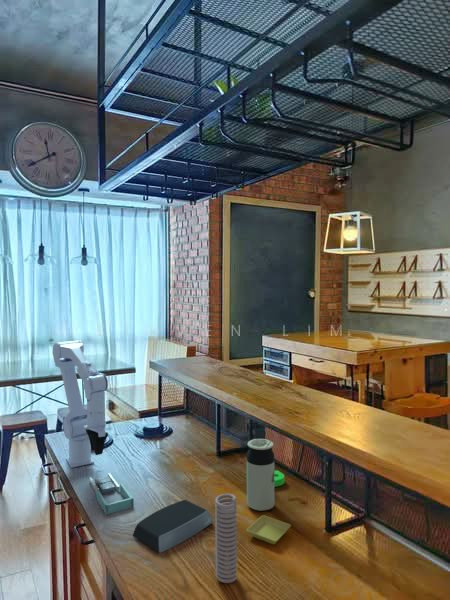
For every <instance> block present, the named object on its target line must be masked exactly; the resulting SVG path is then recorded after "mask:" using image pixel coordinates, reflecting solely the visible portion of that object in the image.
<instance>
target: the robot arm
mask: <svg viewBox="0 0 450 600" xmlns="http://www.w3.org/2000/svg"><path fill="white" fill-rule="evenodd" d="M84 351H85V347H84V342H82V340H81V339H77V340H70V341H69V340H68V341H55V342H54V344H53V345H52V356H53V362H54V365H55V367H57V368H58V369H60V373H61V379H62V382H63V387H64V392H65V396H66V402H67V405H68V410H69V412H68V413H67V414H66V415H65V417H63V421H62V424H63V434H64V436H65V438H66V439H67V440H68V456H66V458H65V459H66V461H67V463H68V464H69V465H68V466H69V467H70V468H76V467H81V466H86V465H90V464H94V463H95V460H94V459H93V457H92V451H94V454H95V455H96V456H98V455H99V456H100V455H102V454H103V451H104V446H105V443H106V440H107V439H108V437H109V432H108V431H106V427H107V422H106V391H108V388H109V380H108V378H107V375H106V374H105V373H102V372H99V371H98V369H97V368H96V367H95V365H94V364H93V362H91V361H89V360H88V359H87V358H86V357H85V354H84ZM76 367H77V368H76ZM76 372H77V374H78V376H79V378H80V379H81V381H82V382H83V386H82V387H83V390H84V396H85V397H84V398H85V399H86V408H84V405H83V399H82V395H81V391H80V387H79V382H78V378H77V374H76Z"/></svg>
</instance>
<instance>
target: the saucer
mask: <svg viewBox="0 0 450 600" xmlns="http://www.w3.org/2000/svg"><path fill="white" fill-rule="evenodd" d="M291 526H292V524H291V523H288V522H286V521H285V522H284V521H282V520H279V519H276V518H273V517H271V516H267V515H265V514H264V515H261V516H259V518H257V519H256V520H255V521H254V522H253V523H252V524H251V525H250V526H249V527H247V528H246V532H247V533H248V534H249V535H250V536H251V537H253V538H255V539H257V540H261V541H262V542H266V543H268V544H271V545H276V544H277V542H279V540H281V538H282V537H283V536H285V534H286V533H287V532H288V530H289V529H290V528H291Z"/></svg>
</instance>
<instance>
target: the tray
mask: <svg viewBox="0 0 450 600" xmlns="http://www.w3.org/2000/svg"><path fill="white" fill-rule="evenodd" d="M119 486H120V491H119V492H120V494H121V495H122V497H123V498H124V499H122V500H117V501H114V502H109V503H107V501H106V499H105V498H104V496H103V495H102V494H101V492H100V491H99V490H96V492H95V498H97V499H96V500H97V502H98V504H99V506H100V505H101V506H100V507H101V509H102V511H103V510H104V511H103V512H104V514H105V515H109V514H113V513H115V512H121V511H123V510H127V509H128V510H129V509H131V508H133V507H134V506H135V505H134V504H135V503H134V497H133V495H132V494H131V493H130V492H129V491H128V489H127V488H126V487H125V485H124V484H123V483H120V484H119Z"/></svg>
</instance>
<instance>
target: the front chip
mask: <svg viewBox="0 0 450 600" xmlns="http://www.w3.org/2000/svg"><path fill="white" fill-rule="evenodd" d="M99 490H100V493H101V494H102V496H103V495H108V494H112V493H115V492H116V489H115V486H114V485H113V483H112V482H107V483H103V484H99Z"/></svg>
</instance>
